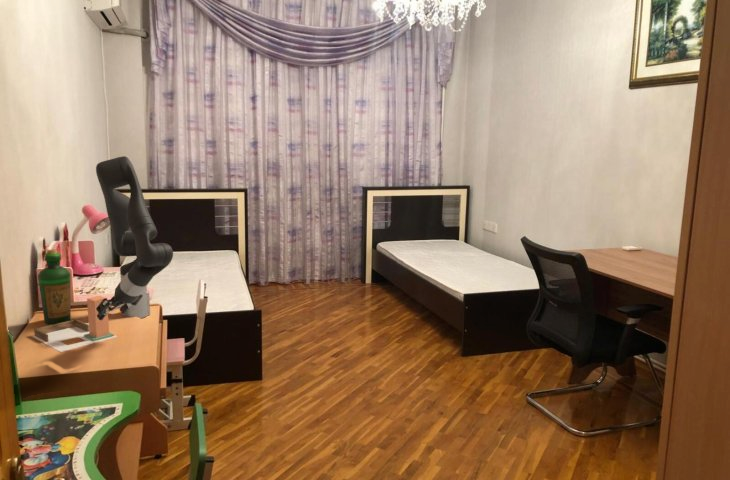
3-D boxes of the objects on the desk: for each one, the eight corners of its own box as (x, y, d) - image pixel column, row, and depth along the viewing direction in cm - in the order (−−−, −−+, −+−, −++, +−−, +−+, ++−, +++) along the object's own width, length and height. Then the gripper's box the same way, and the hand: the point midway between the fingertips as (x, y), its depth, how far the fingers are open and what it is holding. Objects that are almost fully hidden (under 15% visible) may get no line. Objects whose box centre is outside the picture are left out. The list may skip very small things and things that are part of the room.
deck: (87, 325, 210) (86, 322, 210) (117, 339, 197) (117, 336, 197) (31, 339, 196) (31, 336, 195) (60, 355, 182) (60, 351, 182)
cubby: (76, 325, 207) (76, 319, 206) (89, 331, 201) (88, 324, 201) (34, 335, 196) (34, 328, 195) (46, 341, 190) (46, 335, 190)
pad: (103, 331, 201) (103, 329, 201) (113, 336, 197) (113, 334, 197) (83, 336, 196) (83, 334, 196) (93, 341, 192) (93, 339, 192)
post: (101, 331, 199) (99, 295, 197) (109, 334, 197) (107, 297, 195) (89, 334, 196) (87, 298, 194) (96, 337, 193) (94, 300, 191)
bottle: (60, 329, 205) (54, 253, 201) (34, 327, 208) (28, 252, 203) (80, 320, 216) (75, 248, 211) (55, 318, 218) (50, 246, 213)
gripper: (144, 273, 191) (123, 301, 198) (106, 281, 178) (85, 311, 186) (155, 290, 189) (134, 318, 196) (118, 300, 177) (97, 329, 184)
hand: (110, 314), depth 191 cm, fingers open, 8 cm apart
